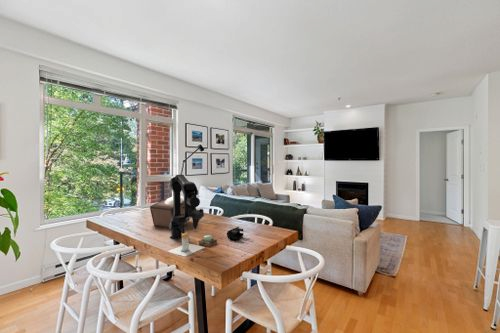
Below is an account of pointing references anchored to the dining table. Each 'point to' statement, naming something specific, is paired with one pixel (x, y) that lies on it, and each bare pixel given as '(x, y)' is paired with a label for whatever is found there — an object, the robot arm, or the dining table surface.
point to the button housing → (208, 244)
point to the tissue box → (164, 212)
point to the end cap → (235, 234)
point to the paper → (191, 250)
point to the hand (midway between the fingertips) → (189, 231)
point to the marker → (185, 242)
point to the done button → (208, 238)
